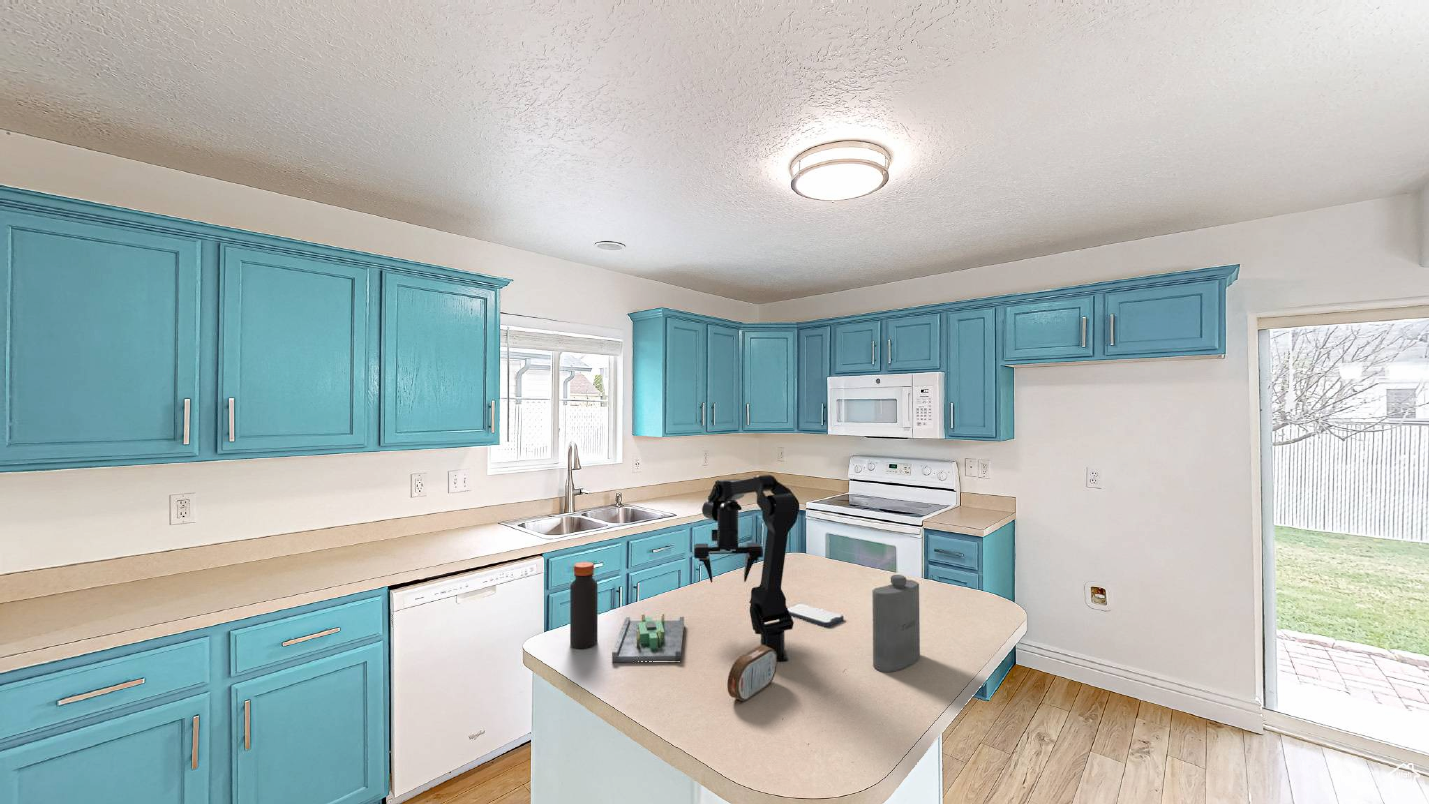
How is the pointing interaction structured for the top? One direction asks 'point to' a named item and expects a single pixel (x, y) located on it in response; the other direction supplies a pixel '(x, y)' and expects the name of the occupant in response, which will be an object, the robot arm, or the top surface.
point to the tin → (752, 672)
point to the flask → (896, 625)
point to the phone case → (815, 615)
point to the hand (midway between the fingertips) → (728, 581)
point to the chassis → (634, 651)
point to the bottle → (583, 607)
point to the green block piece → (650, 632)
